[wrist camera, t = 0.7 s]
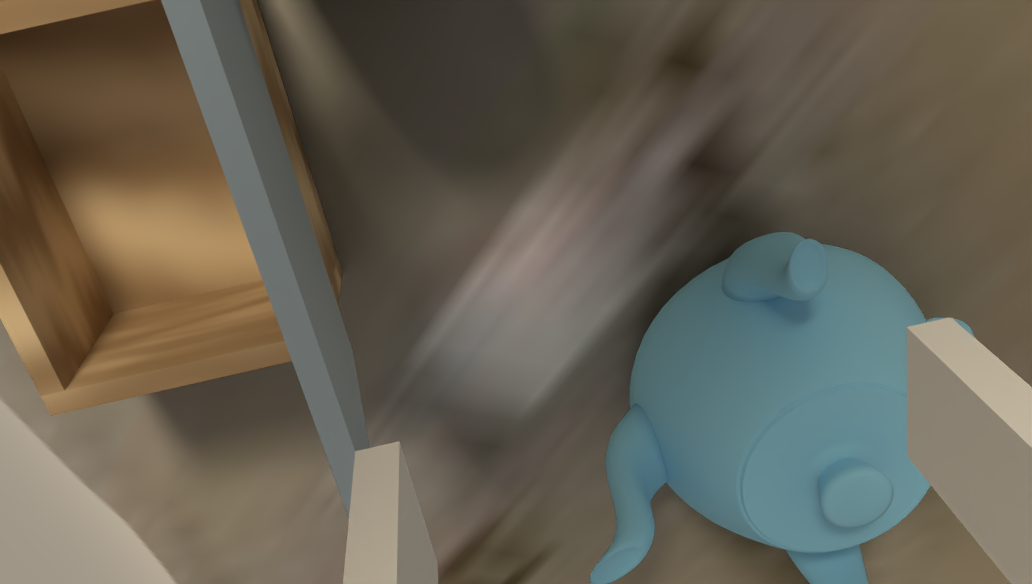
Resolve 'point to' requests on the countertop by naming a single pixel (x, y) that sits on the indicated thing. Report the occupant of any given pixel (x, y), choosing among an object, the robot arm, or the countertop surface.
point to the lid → (274, 219)
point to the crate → (126, 208)
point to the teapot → (773, 408)
